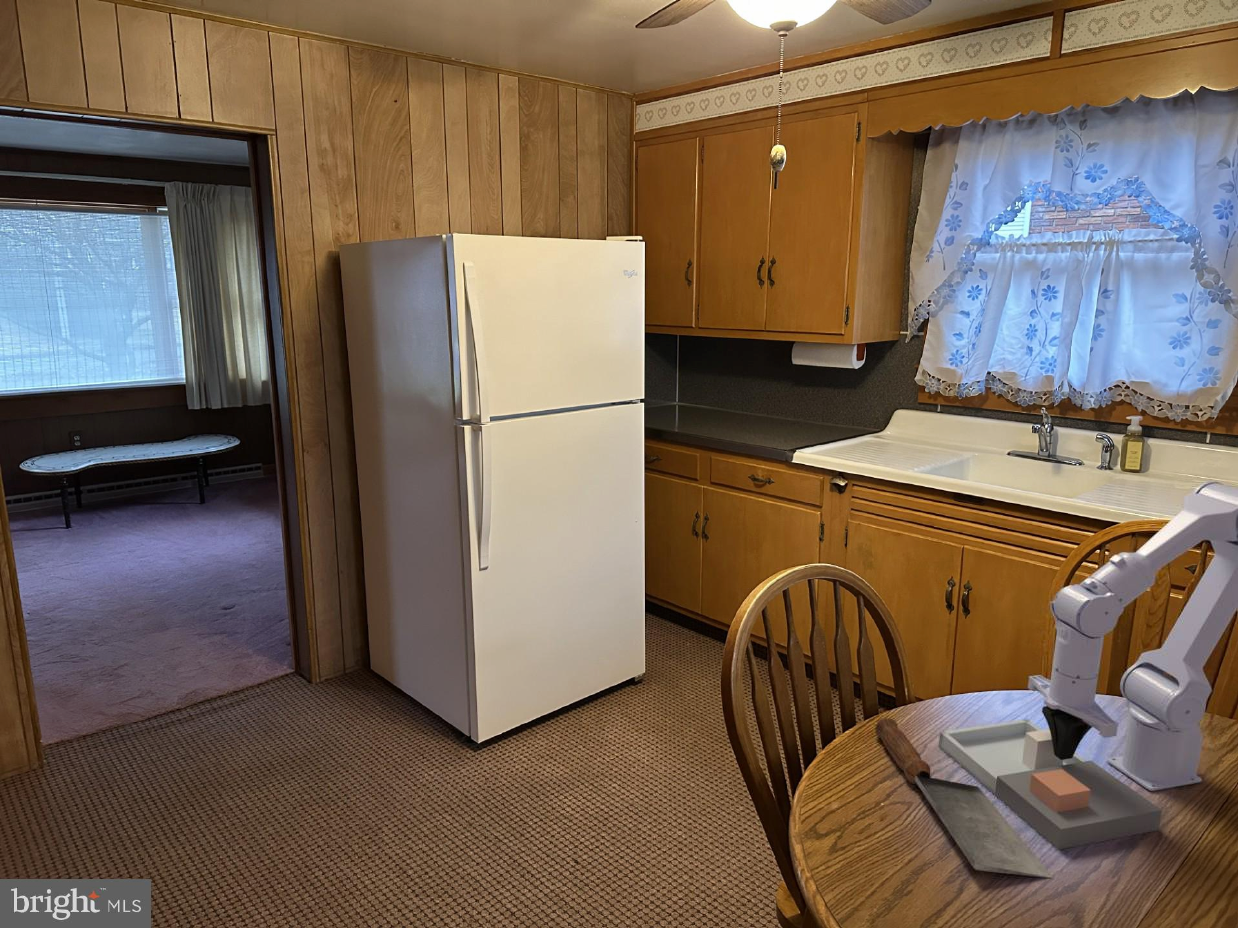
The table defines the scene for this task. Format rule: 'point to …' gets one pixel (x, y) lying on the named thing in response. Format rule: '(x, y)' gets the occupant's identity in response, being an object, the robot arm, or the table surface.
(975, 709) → the table surface
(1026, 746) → the tile white
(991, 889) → the table surface
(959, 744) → the tray
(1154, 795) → the table surface
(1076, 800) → the tile terracotta
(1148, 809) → the board
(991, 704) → the table surface
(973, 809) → the meat cleaver
